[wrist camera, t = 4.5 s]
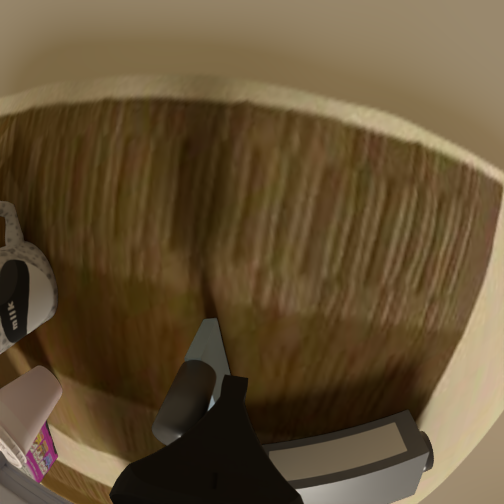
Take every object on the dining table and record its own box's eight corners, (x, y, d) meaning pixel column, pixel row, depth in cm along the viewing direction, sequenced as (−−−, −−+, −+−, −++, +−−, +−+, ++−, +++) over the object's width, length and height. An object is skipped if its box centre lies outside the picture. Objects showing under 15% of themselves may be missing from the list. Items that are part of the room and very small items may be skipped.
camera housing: (262, 488, 21) (260, 527, 16) (239, 446, 19) (232, 493, 14) (411, 454, 19) (426, 489, 14) (421, 403, 18) (444, 444, 13)
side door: (257, 447, 19) (249, 533, 11) (234, 448, 19) (221, 532, 11) (225, 316, 16) (190, 419, 8) (196, 319, 16) (143, 415, 8)
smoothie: (16, 353, 19) (-68, 426, 6) (50, 351, 19) (-50, 446, 5) (47, 404, 21) (-21, 484, 7) (84, 409, 20) (12, 510, 6)
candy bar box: (16, 391, 21) (-58, 467, 5) (46, 413, 21) (-26, 502, 5) (32, 439, 24) (-19, 506, 8) (59, 457, 24) (10, 531, 8)
